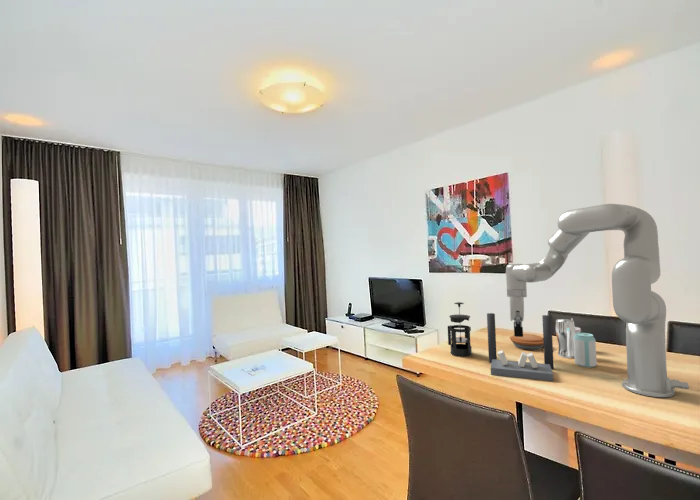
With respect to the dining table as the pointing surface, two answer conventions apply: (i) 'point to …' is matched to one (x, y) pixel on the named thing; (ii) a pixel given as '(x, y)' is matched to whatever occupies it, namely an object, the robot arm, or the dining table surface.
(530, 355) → the paddle
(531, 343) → the pie
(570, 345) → the beer glass
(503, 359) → the paddle
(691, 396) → the dining table surface
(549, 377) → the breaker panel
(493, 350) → the rod
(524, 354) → the middle paddle
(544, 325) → the rod
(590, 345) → the can
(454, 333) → the french press
